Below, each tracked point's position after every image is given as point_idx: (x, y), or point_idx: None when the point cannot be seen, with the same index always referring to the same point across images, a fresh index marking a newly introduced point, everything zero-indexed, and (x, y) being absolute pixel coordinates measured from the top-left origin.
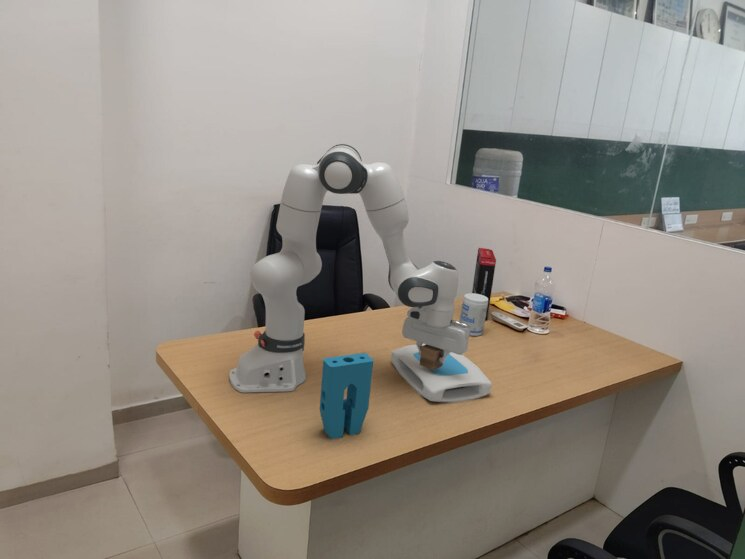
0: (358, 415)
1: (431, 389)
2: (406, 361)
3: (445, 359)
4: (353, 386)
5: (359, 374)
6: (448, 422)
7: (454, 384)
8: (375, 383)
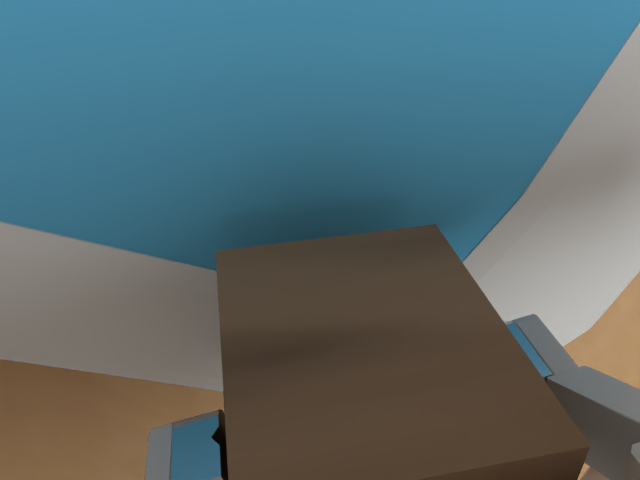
0: None
1: None
2: (7, 358)
3: (553, 348)
4: None
5: None
6: (595, 353)
7: (625, 283)
8: (34, 433)
